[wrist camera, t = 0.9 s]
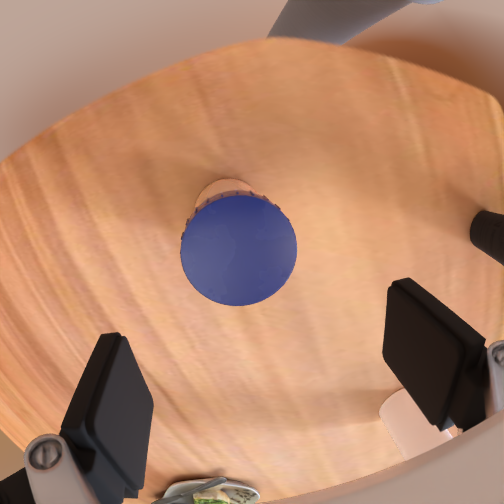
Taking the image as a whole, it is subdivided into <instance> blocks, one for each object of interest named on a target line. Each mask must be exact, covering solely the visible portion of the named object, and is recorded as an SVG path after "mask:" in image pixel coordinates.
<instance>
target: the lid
mask: <svg viewBox="0 0 504 504" xmlns="http://www.w3.org/2000/svg"><path fill="white" fill-rule="evenodd" d="M181 240H182V242H181V251H180V254H181V262H182V266H183V269H184V272H185V274H186V276H187V278H188V280H189V281H190V283H191V284H192V285H193V286H194V288H195V289H196V290H197V291H199V292H200V293H201V294H202V295H204V296H205V297H207V298H208V299H210V300H212V301H215V302H217V303H220V304H224V305H230V306H244V305H250V304H254V303H257V302H260V301H262V300H264V299H266V298H268V297H270V296H271V295H273V294H274V293H275V292H277V291H278V290H279V289H280V288H281V287H282V286H283V285H284V284H285V282H286V281H287V279H288V278H289V276H290V274H291V273H292V270H293V268H294V265H295V261H296V256H297V242H296V236H295V233H294V230H293V228H292V226H291V223H290V222H289V219H288V218H287V217H286V216H285V215H284V214H283V213H282V212H281V211H280V208H279V207H278V206H277V205H276V204H273V203H272V202H271V201H269V199H268V198H266V197H265V196H264V195H263V196H261V195H259V194H256V193H253V192H252V191H251V190H250V191H244V190H237V189H235V190H233V191H226V192H222V191H221V192H220V193H219V194H216V195H214V196H212V197H210V198H207V199H206V200H205V201H204V202H203V203H202V204H200V205H199V206H198V207H196V208H195V211H194V212H193V213H192V215H191V217H190V218H189V219H187V222H186V228H185V231H184V232H183V233H182V237H181Z"/></svg>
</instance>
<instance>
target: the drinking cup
mask: <svg viewBox="0 0 504 504" xmlns="http://www.w3.org/2000/svg"><path fill="white" fill-rule="evenodd" d="M470 237H471V241H472V243H473V245H474V246H476V247H477V248H479V249H480V250H482V251H483V252H485V253H486V254H488V255H489V256H491V257H492V258H493V259H495V260H496V261H498V262H499V263H501V264H502V265H503V266H504V215H502V214H497V213H493V212H488V211H481V212H480V213H478V214H477V215H476V217H475V218H474V220H473V222H472V225H471V230H470Z"/></svg>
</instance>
